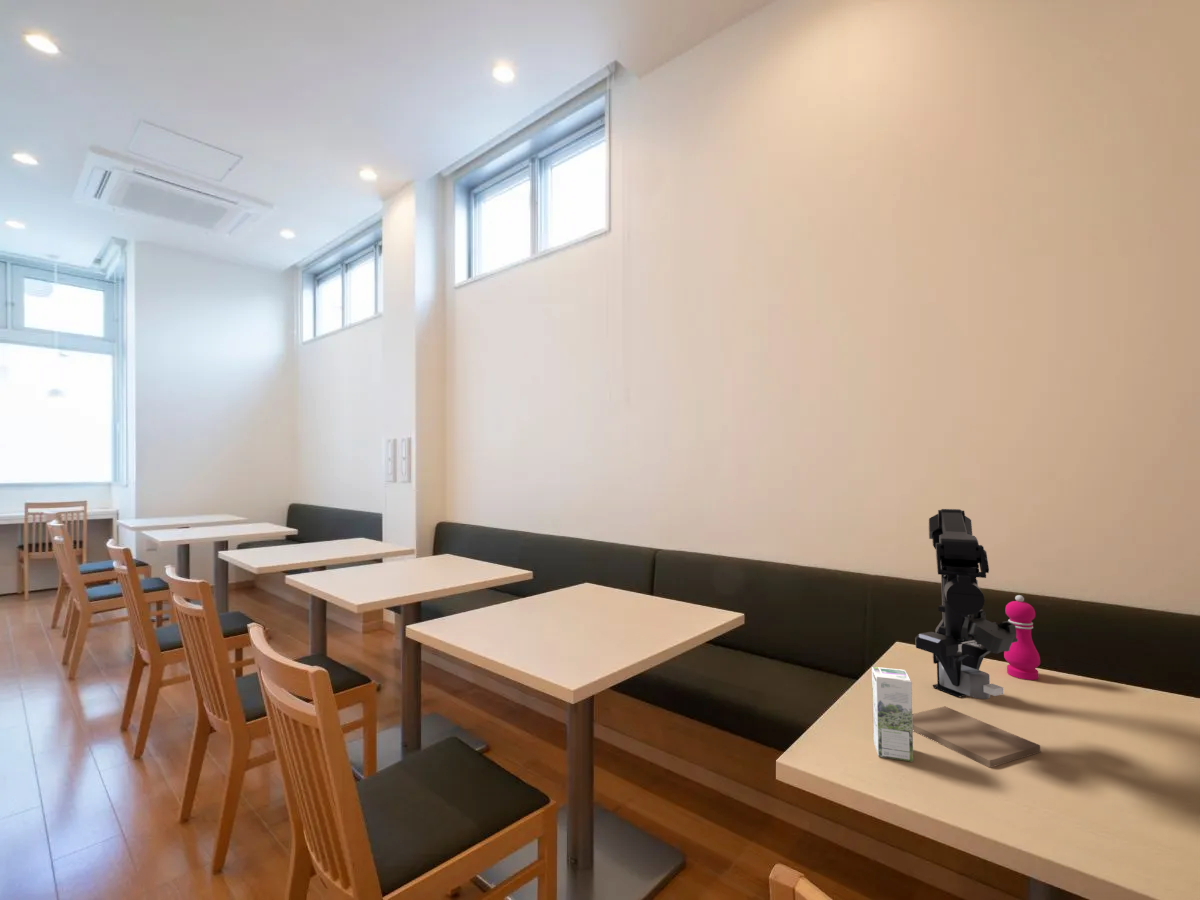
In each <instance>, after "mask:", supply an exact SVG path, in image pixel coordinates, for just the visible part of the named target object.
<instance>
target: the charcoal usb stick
mask: <svg viewBox="0 0 1200 900" xmlns="http://www.w3.org/2000/svg"><path fill="white" fill-rule="evenodd" d="M939 682H940V685H942V686H944V687H947V688H949V689H952V690H955V691H957V692H960V693H963V694H965V695H966V696H969V697H970V698H971V697H972V698H975V699H980V700H988V699H991V696H993V697H996V696H1001V695H1004V687H1003V686H1000V685H997V684H994V683H990V682H991V681H990V674H989V673H987V672H985V671H982V670H980V669H979V670H977V669H974V668H971V667H968V666H965V665H961V675H960V684H959V686H958V687H957V686H954V685H953V684H952V683H951V681H950V679H949V677H948V675H947V673H946V672H945V670H944V668H943V666H942V664H941V662H939Z"/></svg>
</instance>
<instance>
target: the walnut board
mask: <svg viewBox="0 0 1200 900" xmlns="http://www.w3.org/2000/svg"><path fill="white" fill-rule="evenodd" d="M912 725H913V730H914V731H913V732H915V731H916V732H915V733H917V732H918V733H917V734H919V733H920V734H919V735H921V734H922V735H921V736H923V735H924V736H923V737H925V736H926V737H925V738H927V737H928V738H927V739H929V740H931V739H932V740H931V741H933V740H934V742H935V741H936V743H937V742H938V744H939V745H942V746H943V747H946V748H948V749H950V750H952V751H954V752H957V753H958V754H961V755H963V757H964V756H965V757H966V758H969V759H971V760H973V761H974V762H977V763H979V764H981V765H984V766H986V767H988V768H994V767H997V766H999V765H1003V764H1006V763H1010V762H1012V761H1015V760H1016V761H1017V760H1019V759H1022V758H1025V757H1029V756H1031V755H1035V754H1038V753H1041V745H1040V744H1039V743H1035V742H1033V741H1031V740H1028V739H1026V738H1023V737H1021V736H1019V735H1016V734H1013V733H1011V732H1008V731H1006V730H1004V729H1001V728H999V727H997V726H994V725H992V724H989V723H987V722H984V721H982V720H979V719H977V718H975V717H972V716H970V715H967V714H965V713H963V712H960V711H958V710H955V709H953V708H951V707H948V706H941V707H936V708H931V709H927V710H922V711H919V712H914V713H912Z"/></svg>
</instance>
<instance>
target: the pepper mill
mask: <svg viewBox="0 0 1200 900" xmlns="http://www.w3.org/2000/svg"><path fill="white" fill-rule="evenodd" d="M1014 599H1015V600H1012V601H1010V602H1009V601H1008V603H1007V604H1006V605H1005V615H1006V616H1007V617H1008V618H1009V619H1008V620H1007V621H1009V622H1010V623H1012V624H1014V625H1015V627H1016V634H1017V636H1016V638H1017V640H1018V641H1017V642H1014V643H1012V644H1011V646H1010V649H1009V651H1007V652H1006V651H1003V657H1004V659H1005V661H1006V662H1007V663H1008V665H1006V673H1007V675H1008V676H1010V677H1013V678H1017V679H1019V680H1025V681H1026V680H1027V681H1035V680H1038V679H1039V676H1040V675H1039V670H1038V669H1037V667H1039V666H1040V665H1041V656H1040V653H1039V652H1038V650H1037V648H1036V645H1035V643H1034V641H1033V638H1032V629H1034V622H1032V621H1033V620H1034V619H1035V618H1036V611H1035V608H1034V607H1033V606H1032V605H1031V604H1030V603H1028V602H1027V601H1025V597H1024V596H1023V595H1020V594H1018V595H1015V597H1014Z"/></svg>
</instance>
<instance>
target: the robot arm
mask: <svg viewBox="0 0 1200 900" xmlns="http://www.w3.org/2000/svg"><path fill="white" fill-rule="evenodd" d="M965 513H966V512H965V510H961V509H959V508H941V509H938V510H937V514H935V515H932V516H931V517H928V539H929V540H932V546H933V548H934V550H935V559H936V571H937V575H940V577H941V578H940V580H941V582H940V583H941V584H940V585H941V605H937V606H938V607H937V608H938V612H941V614H942V619H941V620H940V622H939V624H938V625H937V626H936V628H935V632H934V631H928V632H920V633H919V634H917V635H916V636H915V637H914V639H915V648H916V649H918V650H921V651H925V652H928V653H931V654H932V663H933V664H934V665H935V664H936V678H937V680H936V681H937V683H934V684H933V685H932V688H934V689H936V690H940V691H942V692H943V693H947V694H950V695H952V696H955V697H957V698H960V697H961V698H962V697H965V696H967V695H965V694H963V693H960V692H957V691H955V690H952V689H949V688H947V687H944V686H942V685H940V682H939V662H941V664H942V666H943V668H944V670H945V672H946V673H947V675H948V677H949V679H950V681H951V683H952V684H953V685H954V686H957V687H958V686H959V684H960V675H961V665H965V666H968V667H971V668H974V669H977V670H980V668H981V665H982V662H983V660H984V657H985V656H987V655H989V654H991V653H993V654H1000V653H1002V652H1003V653H1004V651H1006V652H1007V651H1009V649H1010V646H1011V644H1012V643H1014V642H1017V641H1018V640H1017V638H1016V636H1017V634H1016V627H1015V625H1014V624H1012V623H1010V622H1009V621H1008V620H1006V621H1001V622H999V623H997V622H996V621H993V622H992V621H990V620H987V617H986V615H987V614H986V612H985V610H984V609H983V607H984V605H985V596H984V594H983V592H982V590H981V588H980V587H979V585H978V583H979V582H978V580H977V578H982V579H986V578H987V574H989V572H990V567H989V561H988V555H987V551H986V550H985V549H984V546H983V544H979V541H978V538H977V537H976V536H975V535H973V523H972V519H970V518H969V517H968V516H966V514H965Z"/></svg>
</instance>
